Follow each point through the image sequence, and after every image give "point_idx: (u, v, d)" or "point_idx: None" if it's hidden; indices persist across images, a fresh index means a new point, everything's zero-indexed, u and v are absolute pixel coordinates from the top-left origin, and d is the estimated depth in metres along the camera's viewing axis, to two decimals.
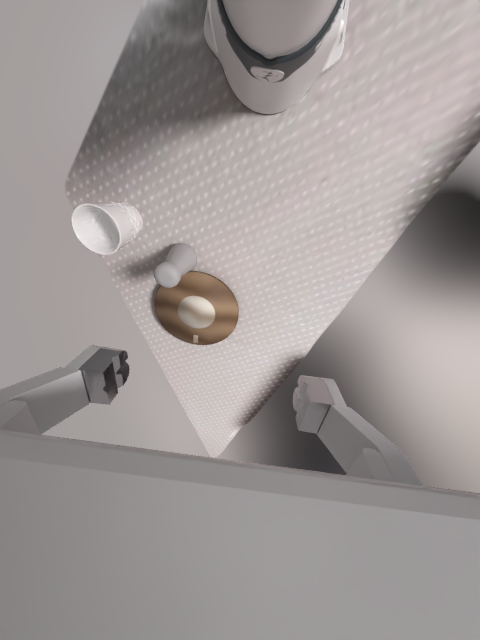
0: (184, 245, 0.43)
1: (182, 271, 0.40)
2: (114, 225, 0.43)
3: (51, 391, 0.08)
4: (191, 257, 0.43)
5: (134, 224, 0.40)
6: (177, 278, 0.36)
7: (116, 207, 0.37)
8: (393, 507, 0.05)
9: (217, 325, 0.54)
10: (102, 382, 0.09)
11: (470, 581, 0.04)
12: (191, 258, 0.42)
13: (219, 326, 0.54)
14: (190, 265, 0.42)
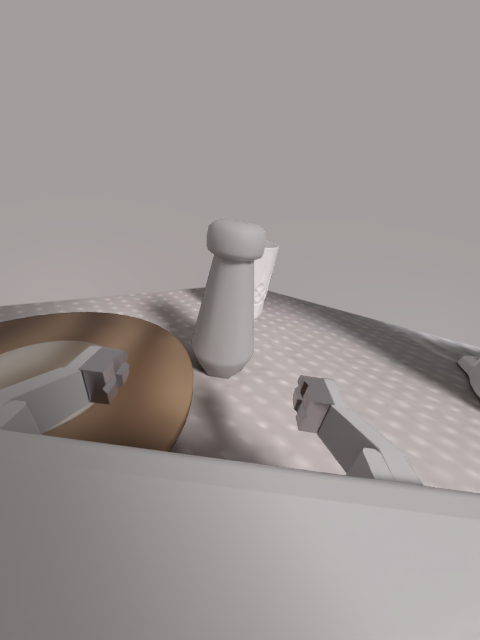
0: None
1: (234, 285, 0.16)
2: None
3: (51, 391, 0.08)
4: (244, 340, 0.18)
5: None
6: (247, 232, 0.14)
7: None
8: (393, 507, 0.05)
9: None
10: (102, 382, 0.09)
11: (470, 582, 0.04)
12: (243, 335, 0.18)
13: None
14: (232, 327, 0.17)
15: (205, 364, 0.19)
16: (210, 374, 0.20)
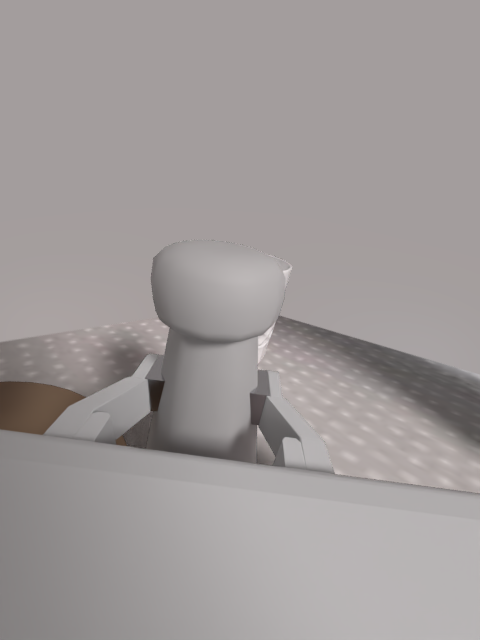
0: None
1: (215, 385, 0.07)
2: None
3: (123, 401, 0.08)
4: None
5: None
6: (241, 282, 0.05)
7: None
8: (393, 507, 0.05)
9: None
10: None
11: (470, 581, 0.04)
12: None
13: None
14: None
15: None
16: None
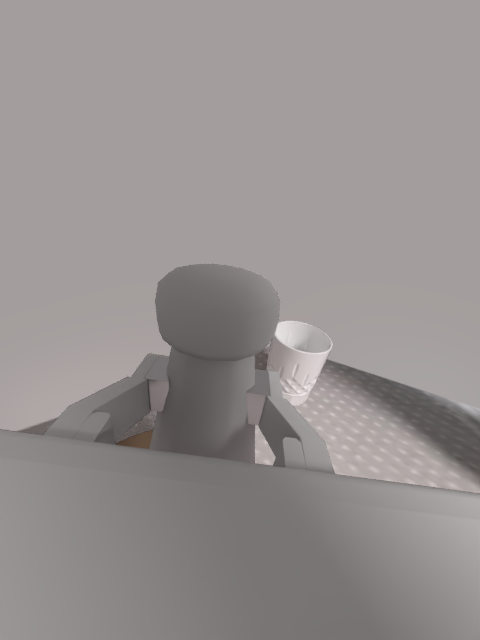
0: None
1: (214, 401, 0.08)
2: None
3: (123, 401, 0.08)
4: None
5: (307, 386, 0.29)
6: (238, 307, 0.06)
7: None
8: (393, 507, 0.05)
9: None
10: (166, 391, 0.09)
11: (470, 581, 0.04)
12: None
13: None
14: None
15: None
16: None
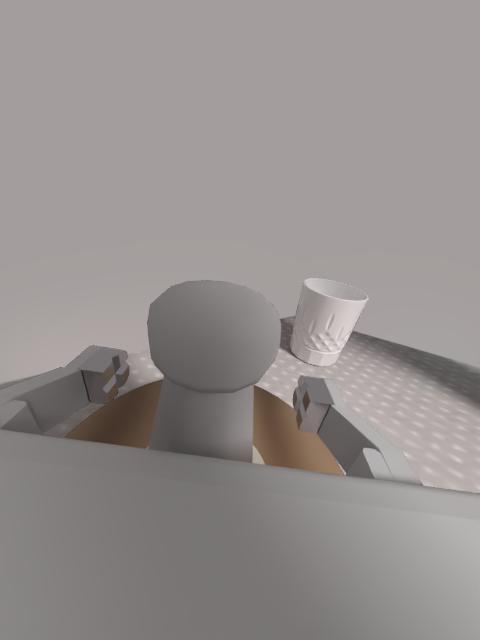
0: None
1: (210, 428, 0.07)
2: None
3: (51, 391, 0.08)
4: None
5: (339, 342, 0.28)
6: (235, 341, 0.05)
7: None
8: (393, 507, 0.05)
9: None
10: (102, 382, 0.09)
11: (470, 582, 0.04)
12: None
13: None
14: None
15: None
16: None
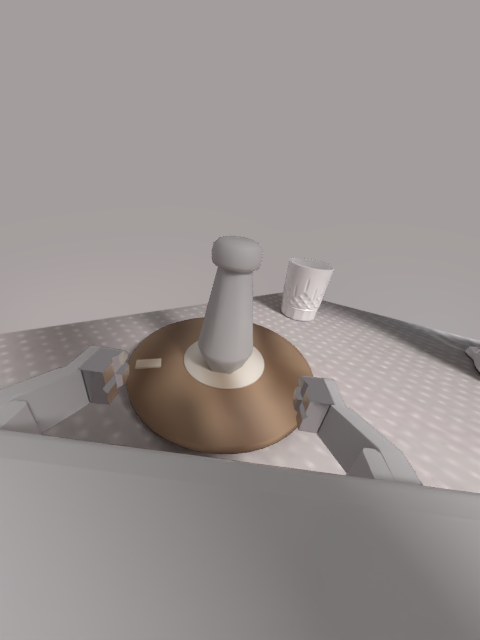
0: None
1: (235, 292, 0.19)
2: None
3: (51, 391, 0.08)
4: (244, 340, 0.21)
5: (315, 302, 0.39)
6: (246, 249, 0.17)
7: None
8: (393, 507, 0.05)
9: (205, 397, 0.20)
10: (102, 382, 0.09)
11: (470, 581, 0.04)
12: (243, 336, 0.20)
13: (202, 403, 0.19)
14: (233, 329, 0.20)
15: (210, 361, 0.21)
16: (214, 370, 0.22)
